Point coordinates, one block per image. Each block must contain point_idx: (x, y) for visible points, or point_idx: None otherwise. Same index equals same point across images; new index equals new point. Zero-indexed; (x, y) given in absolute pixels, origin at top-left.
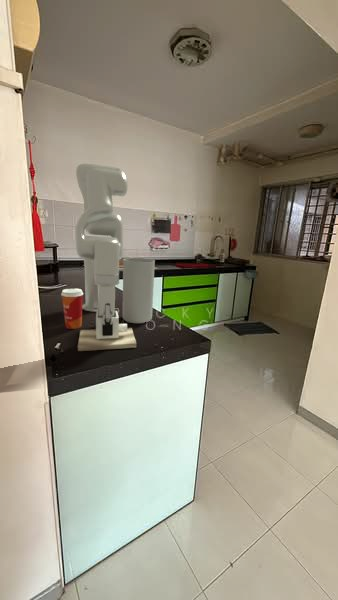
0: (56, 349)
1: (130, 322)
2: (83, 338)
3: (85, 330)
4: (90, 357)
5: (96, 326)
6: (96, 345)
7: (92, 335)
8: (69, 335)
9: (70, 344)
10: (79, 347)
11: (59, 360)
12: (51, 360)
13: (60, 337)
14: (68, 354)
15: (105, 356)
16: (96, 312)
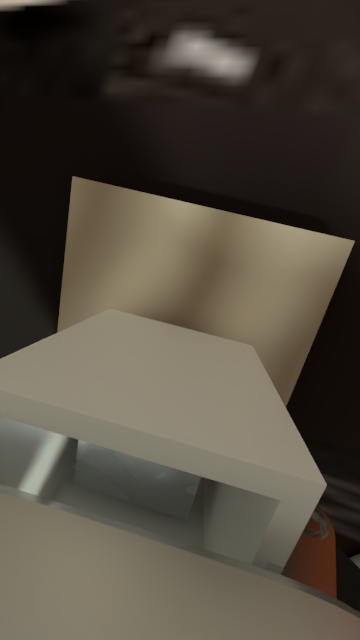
0: (149, 42)
1: (355, 555)
2: (185, 234)
3: (325, 275)
4: (9, 242)
5: (51, 338)
6: (63, 292)
7: (211, 302)
8: (350, 157)
9: (193, 150)
10: (73, 189)
11: (5, 63)
12: (13, 7)
13: (346, 79)
14: (63, 125)
15: (6, 311)
16: (256, 468)
